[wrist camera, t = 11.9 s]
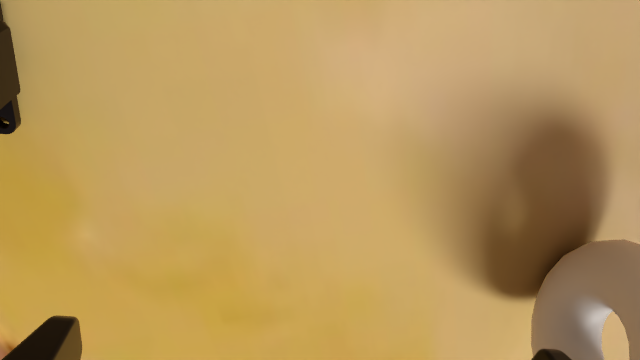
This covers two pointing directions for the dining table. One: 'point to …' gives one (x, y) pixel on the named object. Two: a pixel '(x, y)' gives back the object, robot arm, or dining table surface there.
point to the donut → (589, 300)
